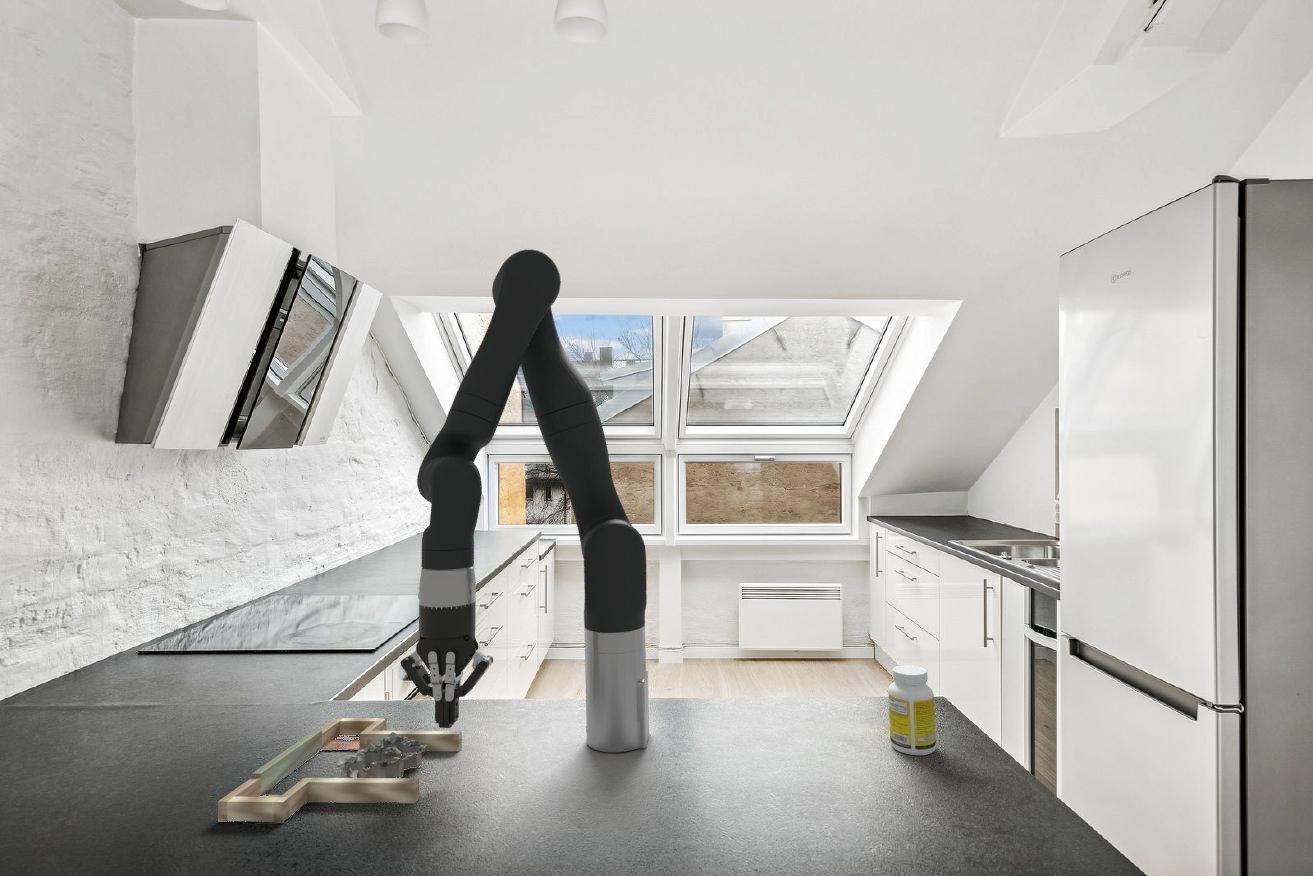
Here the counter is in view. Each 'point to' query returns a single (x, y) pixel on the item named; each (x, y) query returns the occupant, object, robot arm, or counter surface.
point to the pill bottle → (911, 711)
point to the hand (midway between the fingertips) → (446, 725)
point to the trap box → (340, 790)
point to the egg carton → (383, 758)
